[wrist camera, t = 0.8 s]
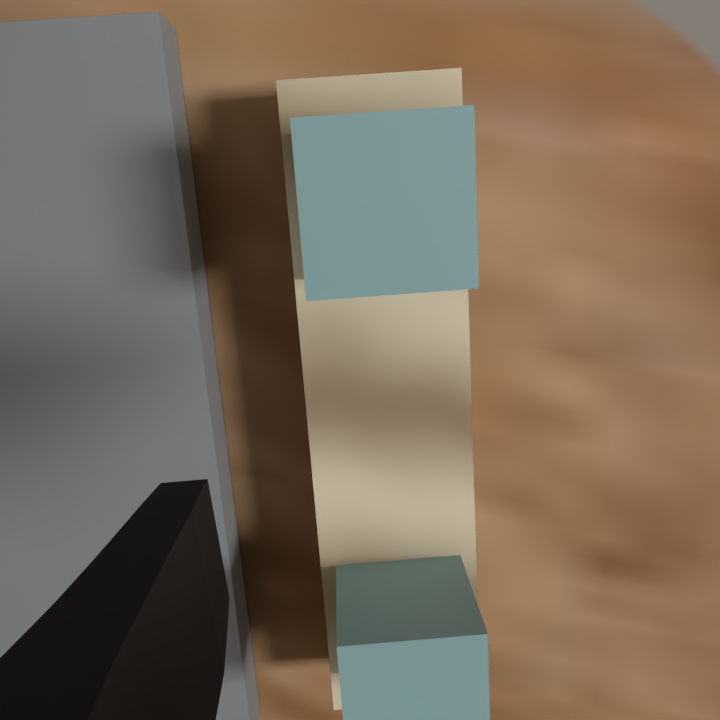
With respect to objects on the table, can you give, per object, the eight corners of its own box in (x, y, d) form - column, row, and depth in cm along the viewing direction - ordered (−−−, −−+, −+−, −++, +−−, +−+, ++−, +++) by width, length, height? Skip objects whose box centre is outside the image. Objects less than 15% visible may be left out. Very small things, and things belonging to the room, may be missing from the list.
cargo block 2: (464, 662, 23) (491, 758, 19) (345, 672, 23) (347, 771, 19) (460, 554, 22) (487, 634, 18) (335, 565, 22) (336, 646, 18)
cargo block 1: (450, 269, 20) (478, 288, 16) (311, 279, 19) (306, 301, 16) (444, 122, 19) (474, 105, 15) (299, 132, 18) (289, 117, 15)
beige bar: (463, 640, 26) (480, 697, 23) (333, 651, 26) (333, 709, 23) (443, 84, 21) (461, 67, 18) (283, 95, 21) (275, 80, 18)
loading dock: (259, 709, 26) (253, 751, 24) (-4, 732, 26) (-31, 776, 24) (175, 29, 20) (158, 12, 18) (-166, 51, 20) (-219, 36, 18)
